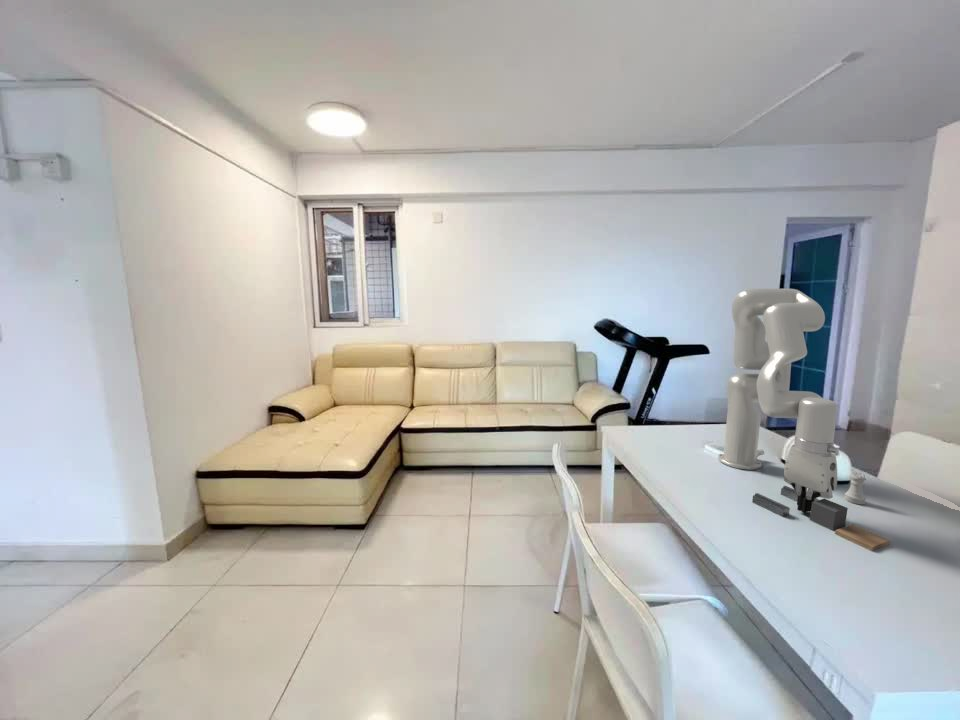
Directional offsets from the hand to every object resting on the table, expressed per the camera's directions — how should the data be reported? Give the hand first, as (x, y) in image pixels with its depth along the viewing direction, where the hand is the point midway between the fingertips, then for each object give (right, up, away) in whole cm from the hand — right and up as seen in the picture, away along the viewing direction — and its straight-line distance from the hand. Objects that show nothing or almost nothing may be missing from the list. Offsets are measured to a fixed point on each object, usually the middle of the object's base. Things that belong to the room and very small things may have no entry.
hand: (804, 510), depth 103 cm
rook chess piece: (+19, 0, +6) cm, 20 cm away
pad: (+4, -2, -11) cm, 12 cm away
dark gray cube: (+2, -1, -5) cm, 5 cm away
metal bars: (-2, 0, +5) cm, 5 cm away
